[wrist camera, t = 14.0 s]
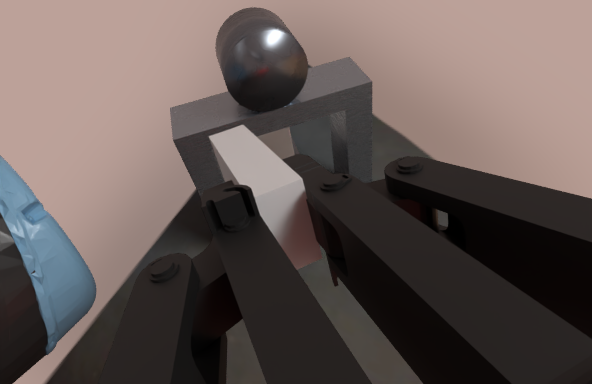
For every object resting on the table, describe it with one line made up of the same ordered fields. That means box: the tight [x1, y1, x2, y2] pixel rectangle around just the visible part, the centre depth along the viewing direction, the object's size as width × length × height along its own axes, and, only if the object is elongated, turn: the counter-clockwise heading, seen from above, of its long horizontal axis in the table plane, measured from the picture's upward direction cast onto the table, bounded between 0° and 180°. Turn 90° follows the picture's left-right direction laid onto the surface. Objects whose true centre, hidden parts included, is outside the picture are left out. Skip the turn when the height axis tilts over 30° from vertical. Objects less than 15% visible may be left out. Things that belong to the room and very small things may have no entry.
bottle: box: [257, 127, 300, 160], centre depth 44 cm, size 6×6×12 cm
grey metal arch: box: [170, 8, 372, 197], centre depth 35 cm, size 17×5×21 cm, turn 107°
